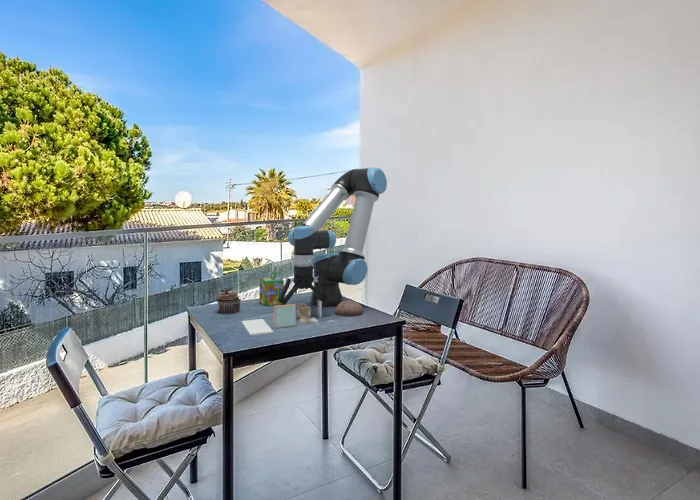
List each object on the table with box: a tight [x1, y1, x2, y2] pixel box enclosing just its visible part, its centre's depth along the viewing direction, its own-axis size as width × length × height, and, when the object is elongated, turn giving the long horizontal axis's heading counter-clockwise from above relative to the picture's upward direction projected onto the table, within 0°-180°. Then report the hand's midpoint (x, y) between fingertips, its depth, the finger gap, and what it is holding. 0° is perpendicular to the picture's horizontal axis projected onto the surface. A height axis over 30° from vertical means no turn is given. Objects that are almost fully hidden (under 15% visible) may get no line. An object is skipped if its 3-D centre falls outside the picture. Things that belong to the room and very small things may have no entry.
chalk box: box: [259, 271, 285, 307], centre depth 187 cm, size 9×9×15 cm
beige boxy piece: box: [296, 302, 319, 325], centre depth 161 cm, size 6×13×5 cm, turn 24°
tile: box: [273, 303, 297, 329], centre depth 150 cm, size 8×2×8 cm, turn 114°
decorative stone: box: [334, 299, 364, 317], centre depth 171 cm, size 12×12×6 cm
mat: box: [241, 318, 274, 337], centre depth 149 cm, size 8×18×1 cm, turn 24°
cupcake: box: [216, 287, 242, 315], centre depth 172 cm, size 10×10×10 cm
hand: (303, 318), depth 162 cm, fingers open, 13 cm apart
